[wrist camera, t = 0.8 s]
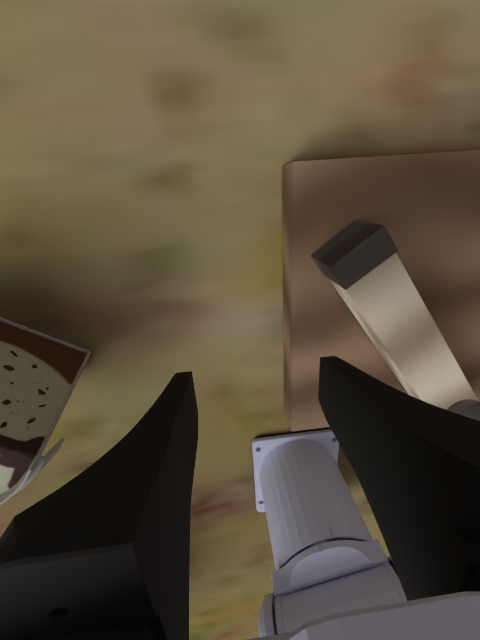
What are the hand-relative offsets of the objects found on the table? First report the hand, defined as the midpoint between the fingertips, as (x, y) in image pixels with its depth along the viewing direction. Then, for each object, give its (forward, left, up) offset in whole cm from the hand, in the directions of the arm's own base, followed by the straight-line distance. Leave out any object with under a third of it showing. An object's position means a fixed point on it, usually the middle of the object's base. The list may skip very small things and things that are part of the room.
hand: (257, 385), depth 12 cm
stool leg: (-3, -11, -8) cm, 13 cm away
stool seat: (-1, -14, -10) cm, 18 cm away
